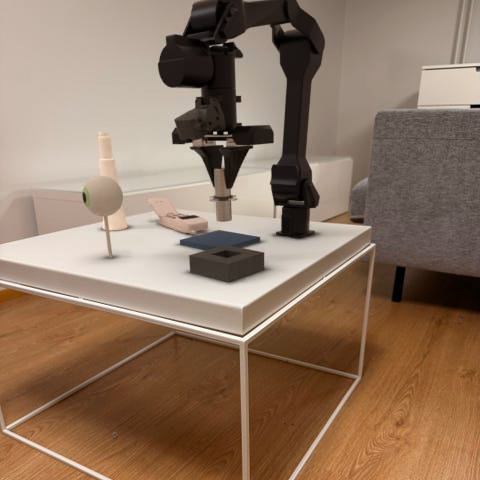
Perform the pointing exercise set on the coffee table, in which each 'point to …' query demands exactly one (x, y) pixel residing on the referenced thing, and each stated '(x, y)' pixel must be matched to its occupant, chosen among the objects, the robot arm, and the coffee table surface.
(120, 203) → the eyeball on stick
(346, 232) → the coffee table surface
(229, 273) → the square hole block
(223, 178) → the bolted post stand
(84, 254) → the coffee table surface
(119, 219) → the cosmetic bottle
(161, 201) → the mobile phone
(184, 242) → the mat
